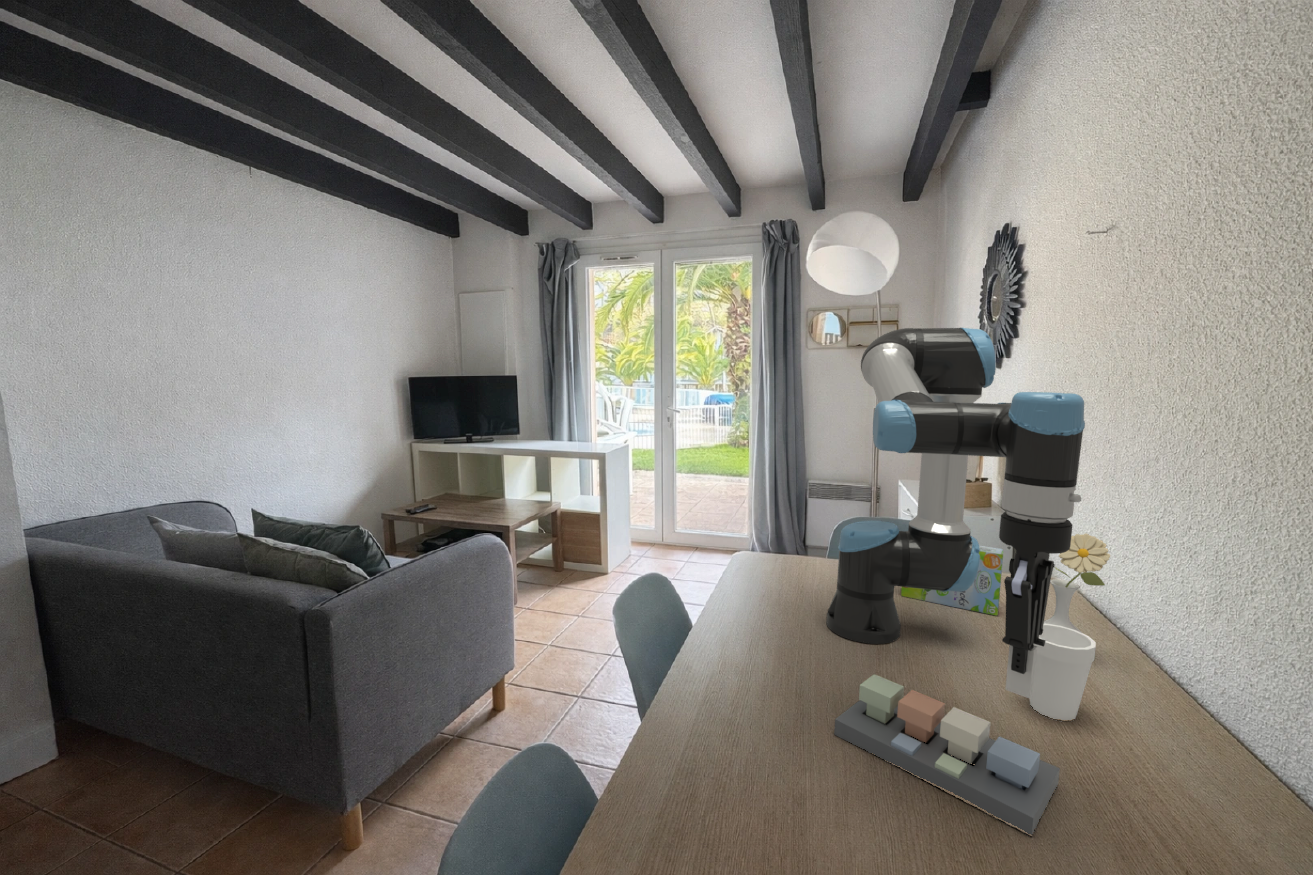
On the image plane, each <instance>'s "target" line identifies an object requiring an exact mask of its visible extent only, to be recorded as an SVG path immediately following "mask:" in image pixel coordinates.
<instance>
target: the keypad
mask: <svg viewBox="0 0 1313 875" xmlns="http://www.w3.org/2000/svg"><path fill="white" fill-rule="evenodd" d="M866 710H867V703H865V702H863V701H861V700H859V699H858V701H857V702H855V703H854V704H853V705H852V706H850V707H849V708H847V710H845V711H844V712H843V713H841V714H840V715H839V716H837V717H836V718H835V719H834V731H833V732H834V733H833V735H835V736H836V737H837V738H840V739H842V740H844V741H845V742H847V741H848V742H847V743H849V742H850V744H851V743H852V744H851V745H853V746H855V745H856V747H857V746H858V748H859V747H860V748H859V749H861V748H862V749H861V750H863V749H865V750H866V751H865V750H864V751H865V752H867V751H868V752H867V753H869V754H870V753H873V754H875V755H876V756H878V757H880V758H882V759H884V760H886V761H888V762H891V763H893V764H895V765H897V766H900V767H902V768H903V769H905V770H907V771H909V772H911V773H913V774H914V775H917V776H919V777H920V778H923V779H926V780H927V781H930V782H931V783H934V784H936V785H937V786H940V787H942V788H944V789H946V790H948V791H950V792H953V793H954V794H955V795H958V796H960V797H962V798H964V799H965V800H968V801H970V802H971V803H973V804H975V805H977V806H978V807H980V808H982V809H984V810H986V811H987V812H988V813H991V814H993V815H994V816H996V817H998V818H1001V819H1002V820H1004V821H1006V822H1008V823H1011V824H1012V825H1014V826H1017V827H1018V828H1020V829H1022V830H1024V831H1025V832H1027V833H1028V834H1031V835H1032V834H1033V835H1034V833H1035V831H1034V829H1035V828H1036V829H1037V827H1038V826H1037V824H1038V822H1039V819H1040V818H1041V816H1042V814H1043V812H1044V810H1045V808H1046V806H1047V804H1048V802H1049V800H1050V798H1051V796H1052V794H1053V792H1054V790H1055V789H1056V790H1057V788H1058V786H1059V780H1060V770H1061V767H1058V766H1056V765H1054V764H1052V763H1049V762H1047V761H1045V760H1042V759H1040V760H1039V770H1038V772H1037V774H1036V776H1035V777H1034V779H1033V781H1032V782H1031V784H1030V786H1029V788H1026V790H1025V791H1024V790H1022V789H1020V788H1018V787H1016V786H1014V785H1012V784H1009V783H1007V782H1005V781H1003V780H1001V779H999V778H997V777H995V774H996V773H995V772H993V771H991V770H988V769H986V765H987V754H988V751H989V749H990V748H991V747H992V745H993V744H994V743H995V741H996V740H997V739H996V740H995V739H993V738H991V737H989V739H988V740H987V742H986V743H985V744H984V745H983V747H982V748H981V749H980V751H979V752H978V756H977V757H976V758H975V759H974V761H973V762H972V764H975V765H974V766H972V765H970V764H968V763H966V762H964V761H962V760H960V759H958V758H956V757H953V756H951V755H950V754H948V742H949V740H947V739H944V738H942V737H940V727H941V722H940V723H939V724H938V725H937V726H936V727H935V728H934V735H933V736H932V737H931V738H930V739H929V740H928V741H927V742H926V743H928V744H926V743H924V742H922V741H920V740H917V739H915V738H913V737H911V736H910V735H908V734H906V733H905V723H906V721H905V720H903V719H901V718H898V717H897V713H898V706H897V707H896V708H895V709H894V716H893V717H892V718H891V719H890V720H889V721H888V722H886V723H885V724H884V723H882V722H880V721H878V720H876V719H874V718H872V717H870V716H867V715H866ZM876 756H875V757H876ZM878 757H877V758H878ZM880 758H879V759H880ZM882 759H881V760H882ZM884 760H883V761H884ZM886 761H885V762H886ZM888 762H887V763H888ZM1057 785H1058V786H1057ZM1056 787H1057V788H1056ZM1056 790H1055V791H1056ZM1054 793H1055V792H1054ZM1053 795H1054V794H1053ZM1052 797H1053V796H1052ZM1051 799H1052V798H1051ZM1050 801H1051V800H1050ZM1049 803H1050V802H1049ZM1048 805H1049V804H1048ZM1047 807H1048V806H1047ZM1046 809H1047V808H1046ZM1045 811H1046V810H1045ZM1044 813H1045V812H1044ZM1043 815H1044V814H1043ZM1042 817H1043V816H1042ZM1041 819H1042V818H1041ZM1039 823H1040V822H1039ZM1038 825H1039V824H1038ZM1036 826H1037V827H1036ZM1036 829H1035V830H1036ZM1033 832H1034V833H1033ZM1033 835H1032V836H1033Z"/></svg>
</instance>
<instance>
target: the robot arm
mask: <svg viewBox="0 0 1313 875" xmlns="http://www.w3.org/2000/svg"><path fill="white" fill-rule="evenodd" d="M996 360H997V358H996V352H995V347H994V344H993V341H992V338H991V337H990V335H989V334H988V332H986V331H985V330H983V329H979V328H969V327H937V328H936V327H933V328H932V327H931V328H928V327H927V328H921V327H920V328H917V327H915V328H914V327H904V328H899V329H895V330H891V331H889V332H887V333H884V334H882V335H880V336H879V337H877V338H876V339H874V340H873V341H872V342H871V343H870V344H869V345H868V346H867V347H866V349H865V350H864V352H863V354H862V355H861V360H860V370H861V373H862V377H863V379H864V381H865V382H866V383H867V384H868V385H869V386H870V387H872V389H873V391H874V394H875V396H876V399H877V402H878V403H877V404H876V406H875V409H874V412H873V419H872V420H873V421H872V436H873V437H872V438H873V444H874V446H875V448H876V449H878V450H880V451H884V452H896V453H897V454H907V453H909V454H921V457H920V470H919V485H918V486H919V487H918V498H917V513H916V516H915V517H913V518H912V519H911V520H910V521H909V522H908V530H906V531H905V530H900V529H899V527H898V525H897V524H896V523H894V522H891V521H883V520H861V521H855V522H852V523H851V522H850V523H849V524H847V525H845V526H844V527H843V528H842V529H841V531H840V535H839V536H840V537H839V543H838V545H837V548H838V564H837V579H836V580H837V581H836V591H835V593H834V595H833V597H832V600H831V603H830V604H829V608H828V609H827V612H826V626H827V627H828V629H829V630H830V631H831V632H833V633H834V634H836V635H838V636H840V637H842V638H845V639H848V640H850V641H853V642H857V643H863V644H872V645H873V644H876V645H880V644H881V645H883V644H890V643H893V642H895V641H897V640H898V639H899V638H900V636H901V622H900V617H899V614H898V610H897V607H896V602H895V600H894V599H895V598H894V595H895V587H910V588H920V589H930V590H939V591H942V592H947V591H955V592H962V591H965V590H967V589H969V588H970V586H971V585H972V584H973V583H974V581H975V578H976V576H977V573H978V569H979V563H980V555H979V551H980V548H979V546H980V544H979V541H978V540H977V538H975V537H974V536H972V535H971V533H972V532H971V528H970V527H969V526H968V525H967V524H966V523H965V521H964V512H965V501H966V500H965V499H966V487H967V474H968V462H969V456H971V457H973V456H974V457H975V456H976V457H992V458H993V457H994V458H1005V471H1004V476H1003V477H1004V478H1003V487H1002V495H1001V496H1002V497H1001V507H1000V508H1002V509H1003V510H1004V511H1003V512H1002V514H1000V521H999V531H998V532H999V533H998V537H999V540H1000V541H1001V542H1002V543H1004V544H1005V545H1006V546H1011V548H1014V549H1015V554H1014V557H1013V558H1010V560H1009V566H1008V571H1009V573H1010V576H1005V579H1004V580H1003V583H1004V589H1005V630H1004V632H1005V636H1003V638H1002V643H1005V645H1008V646H1009V648H1008V658H1007V667H1006V668H1007V669H1006V679H1005V691H1008V692H1010V693H1012V694H1013V693H1014V694H1016V695H1019V696H1021V697H1024V698H1026V699H1029V698H1030V697H1031V695H1032V693H1033V683H1034V673H1035V663H1036V654H1037V646H1034V645H1033V644H1037V645H1040V646H1043V647H1044V645H1045V641H1046V640H1042V639H1039V635H1041V634H1042V633H1043V624H1044V621H1045V618H1046V611H1047V604H1048V598H1049V593H1050V592H1049V591H1050V585H1051V583H1050V580H1052V575H1053V571H1054V568H1055V567H1056V566H1055V565H1056V564H1055V562H1054V560H1050V554H1056V555H1057V554H1060V553H1064V552H1066V551H1068V550H1069V549H1070V545H1071V536H1073V535H1072V534H1073V523H1072V522H1071V520H1069V519H1070V518H1072V517H1074V511H1075V510H1074V507H1075V503H1080V502H1081V501H1082V496H1081V495H1080V494H1077V493H1075V491H1076V489H1077V485H1078V484H1077V482H1078V474H1079V466H1080V457H1081V450H1082V449H1081V448H1082V443H1083V442H1082V441H1083V434H1084V433H1083V432H1084V429H1085V427H1086V425H1085V424H1086V422H1085V421H1086V420H1085V400H1084V398H1083V397H1082V396H1081V395H1079V394H1077V393H1073V392H1067V393H1065V392H1050V391H1049V392H1047V391H1044V392H1043V391H1041V392H1040V391H1038V392H1037V391H1021V392H1019V391H1018V392H1017V393H1015V394H1014V395H1013V396H1012V399H1011V402H998V403H984V402H983V403H981V402H976V401H978V400H979V399H981V398H982V396H983V389H986V388H989V387H990V386H991V385H992V384H993V382H994V380H995V375H996V370H997V368H996V367H997V364H996ZM1054 566H1055V567H1054Z"/></svg>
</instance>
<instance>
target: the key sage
mask: <svg viewBox="0 0 1313 875" xmlns="http://www.w3.org/2000/svg"><path fill="white" fill-rule="evenodd" d="M858 691H859V692H858V693H859V695H858V701H859V700H861V701H863V702H865V703H867V710H866V715H867V716H870V717H872V718H874V720H875V719H876V721H877V720H878V722H879V721H880V722H881V723H883V724H885V723H886V722H888V721H889V720H890V719H891V718H892V717H893V716H894V709H895V708H896V707H897V706H898V701H900V700H901V699H902V698H903V697H904V696H905V695H904V693H905V685H902V684H900V683H897V682H894V681H892V680H890V679H888V678H885V677H883V676H880V675H877V674H874V673H873V674H872V675H871V676H870V677H868V678H867V679H865V680H864V681H863V682H862V683H861V684H859V690H858ZM885 725H886V724H885Z"/></svg>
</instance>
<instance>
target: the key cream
mask: <svg viewBox="0 0 1313 875" xmlns="http://www.w3.org/2000/svg"><path fill="white" fill-rule="evenodd" d="M990 733H991V721H988V720H986V719H984V718H982V717H979V716H977V715H975V714H972V713H969V712H967V711H964V710H962V709H960V708H958V707H955V706H953V707H952V708H951V710H949V712H947V713H946V714H945V715H944V718H943V719H942V720H941V727H940V737H942V738H944V739H947V740H949V742H948V754H950V755H952V757H953V756H954V757H955V758H957V759H959V760H960V759H961V761H962V760H963V762H964V761H965V763H966V762H967V764H968V763H969V765H970V764H971V763H972V762H973V761H974V759H975V758H976V757H977V756H978V752H979V751H980V749H981V748H982V747H983V745H984V744H985V743H986V742H987V740H988V739H989V738H990Z"/></svg>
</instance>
